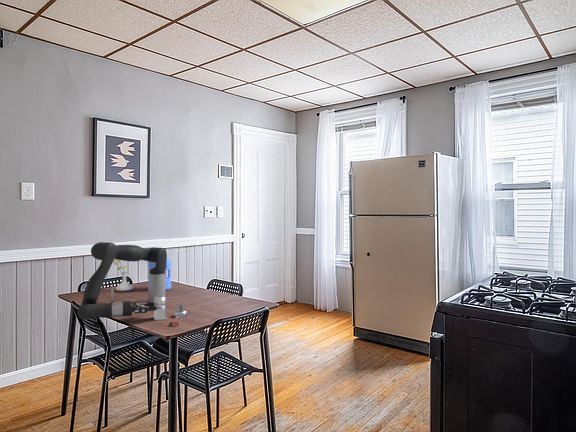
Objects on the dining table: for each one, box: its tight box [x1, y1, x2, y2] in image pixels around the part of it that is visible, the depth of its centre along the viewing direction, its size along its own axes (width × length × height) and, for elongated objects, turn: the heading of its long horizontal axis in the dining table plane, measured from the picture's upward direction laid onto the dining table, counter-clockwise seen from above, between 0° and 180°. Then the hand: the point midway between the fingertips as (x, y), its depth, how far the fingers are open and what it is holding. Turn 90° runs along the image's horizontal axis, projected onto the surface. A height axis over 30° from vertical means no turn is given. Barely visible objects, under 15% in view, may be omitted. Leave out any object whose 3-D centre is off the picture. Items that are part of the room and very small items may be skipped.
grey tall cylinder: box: [153, 295, 167, 321], centre depth 217 cm, size 6×6×11 cm
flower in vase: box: [113, 259, 134, 292], centre depth 288 cm, size 13×11×25 cm
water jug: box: [147, 257, 172, 291], centre depth 294 cm, size 16×16×28 cm
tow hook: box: [110, 283, 116, 303], centre depth 240 cm, size 8×13×9 cm
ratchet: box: [171, 303, 188, 327], centre depth 214 cm, size 22×6×7 cm, turn 7°
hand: (155, 306), depth 216 cm, fingers open, 8 cm apart
